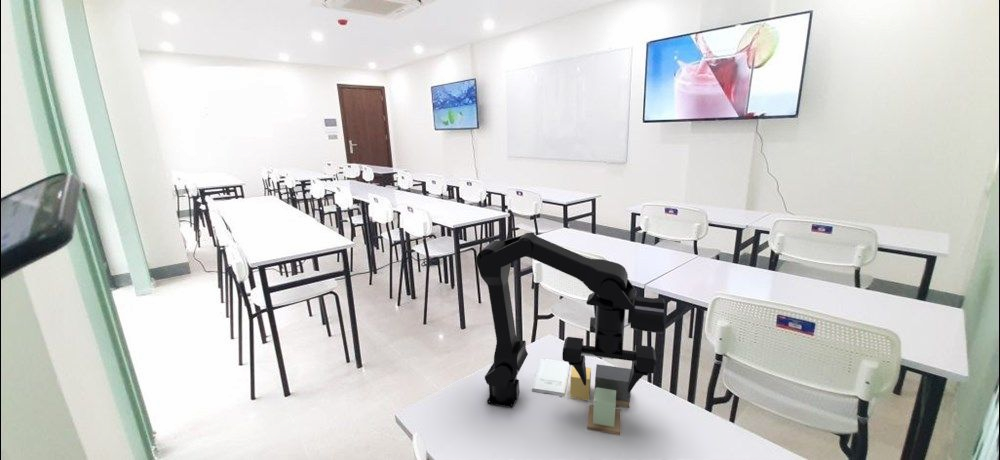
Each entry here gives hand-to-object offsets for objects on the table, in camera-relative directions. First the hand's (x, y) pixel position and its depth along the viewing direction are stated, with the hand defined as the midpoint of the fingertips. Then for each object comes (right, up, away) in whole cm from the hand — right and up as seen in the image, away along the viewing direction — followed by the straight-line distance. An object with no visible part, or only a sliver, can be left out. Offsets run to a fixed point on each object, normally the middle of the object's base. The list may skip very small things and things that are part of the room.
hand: (606, 387), depth 88 cm
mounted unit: (+4, -6, +10) cm, 12 cm away
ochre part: (-3, -6, +12) cm, 14 cm away
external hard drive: (-10, -5, +18) cm, 21 cm away
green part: (0, -8, +2) cm, 8 cm away
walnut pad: (0, -8, +3) cm, 9 cm away
